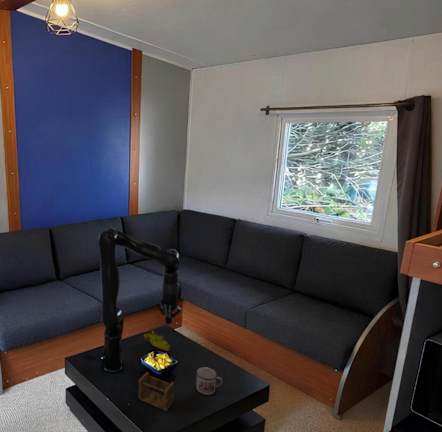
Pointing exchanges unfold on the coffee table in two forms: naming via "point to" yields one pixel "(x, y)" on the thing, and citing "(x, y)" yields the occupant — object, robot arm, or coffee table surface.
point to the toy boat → (157, 341)
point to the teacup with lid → (207, 381)
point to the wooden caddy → (153, 396)
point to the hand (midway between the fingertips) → (168, 323)
